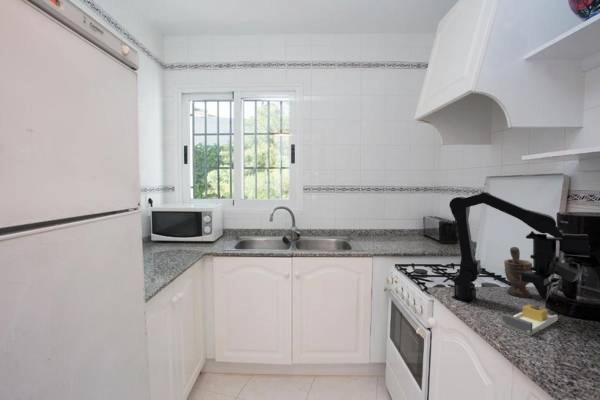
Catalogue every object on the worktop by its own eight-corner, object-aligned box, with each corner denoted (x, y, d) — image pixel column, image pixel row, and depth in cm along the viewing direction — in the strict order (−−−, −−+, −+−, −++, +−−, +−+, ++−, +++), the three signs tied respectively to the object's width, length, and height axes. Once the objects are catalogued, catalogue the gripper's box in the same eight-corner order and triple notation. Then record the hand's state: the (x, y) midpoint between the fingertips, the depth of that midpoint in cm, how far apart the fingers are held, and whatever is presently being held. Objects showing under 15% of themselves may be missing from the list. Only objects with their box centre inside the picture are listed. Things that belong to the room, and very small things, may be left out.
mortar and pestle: (538, 302, 101) (537, 248, 100) (509, 299, 105) (508, 247, 104) (528, 292, 111) (528, 242, 110) (502, 289, 115) (502, 241, 114)
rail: (502, 325, 85) (502, 314, 85) (530, 312, 94) (530, 302, 94) (529, 336, 79) (529, 324, 79) (557, 320, 88) (557, 309, 88)
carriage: (522, 316, 89) (522, 304, 89) (528, 313, 91) (528, 301, 91) (541, 322, 85) (541, 310, 85) (547, 319, 87) (547, 307, 86)
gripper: (564, 262, 79) (564, 315, 80) (589, 253, 88) (589, 301, 88) (519, 255, 89) (519, 302, 89) (545, 247, 98) (545, 291, 98)
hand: (544, 299), depth 91 cm, fingers closed
